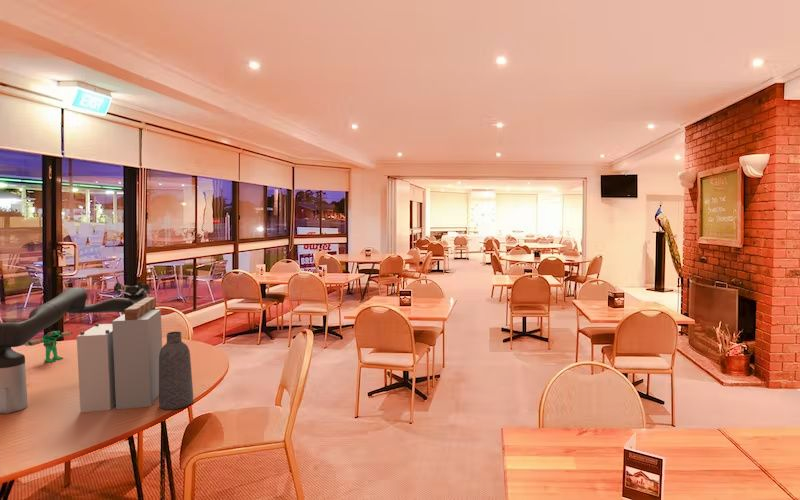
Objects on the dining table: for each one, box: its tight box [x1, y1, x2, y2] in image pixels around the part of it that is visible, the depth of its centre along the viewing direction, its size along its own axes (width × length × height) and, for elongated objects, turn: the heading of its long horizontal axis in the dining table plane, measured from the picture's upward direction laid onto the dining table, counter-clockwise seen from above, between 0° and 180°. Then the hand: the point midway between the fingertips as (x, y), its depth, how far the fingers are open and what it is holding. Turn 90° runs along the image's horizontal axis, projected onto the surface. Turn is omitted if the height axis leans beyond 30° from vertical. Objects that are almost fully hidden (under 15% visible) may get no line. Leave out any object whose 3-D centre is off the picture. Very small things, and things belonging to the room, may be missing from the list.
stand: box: [76, 309, 163, 413], centre depth 187 cm, size 20×24×34 cm
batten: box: [124, 296, 157, 320], centre depth 192 cm, size 28×4×4 cm, turn 14°
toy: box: [24, 330, 73, 363], centre depth 240 cm, size 26×6×15 cm, turn 168°
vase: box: [158, 331, 194, 411], centre depth 183 cm, size 12×12×28 cm
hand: (128, 283), depth 211 cm, fingers open, 8 cm apart
